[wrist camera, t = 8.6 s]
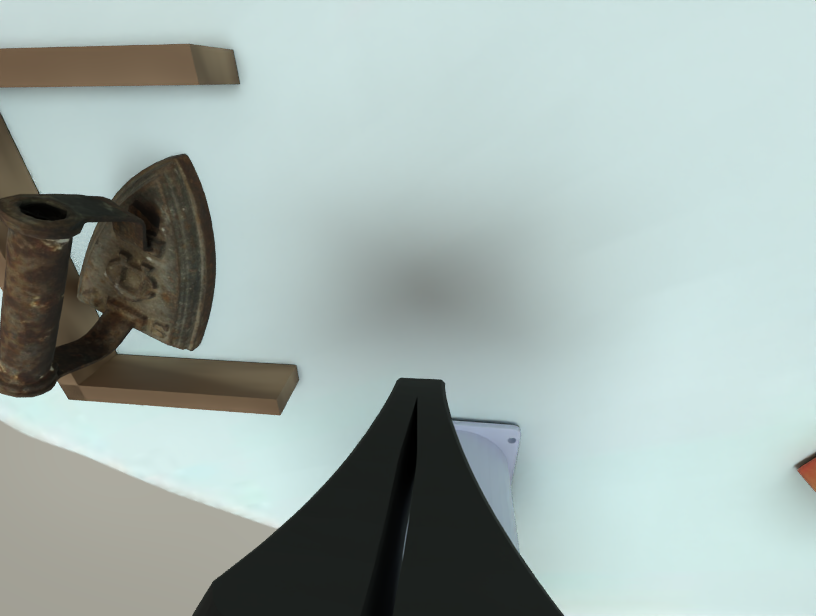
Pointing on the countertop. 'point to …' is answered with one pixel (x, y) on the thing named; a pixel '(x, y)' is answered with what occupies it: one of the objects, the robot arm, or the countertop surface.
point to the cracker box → (809, 473)
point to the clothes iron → (105, 272)
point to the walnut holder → (8, 176)
